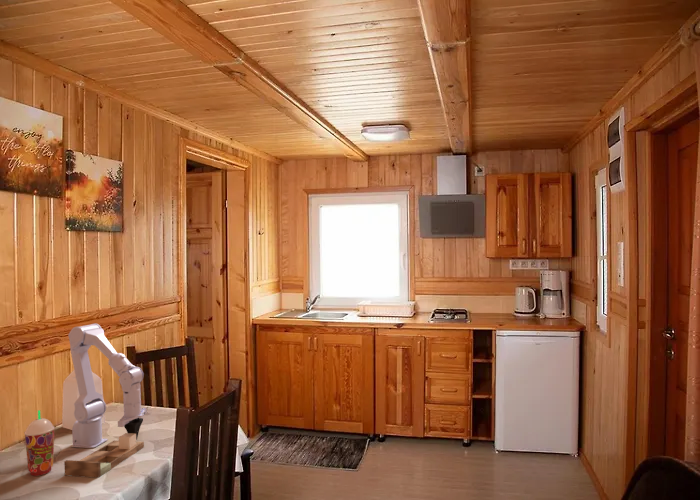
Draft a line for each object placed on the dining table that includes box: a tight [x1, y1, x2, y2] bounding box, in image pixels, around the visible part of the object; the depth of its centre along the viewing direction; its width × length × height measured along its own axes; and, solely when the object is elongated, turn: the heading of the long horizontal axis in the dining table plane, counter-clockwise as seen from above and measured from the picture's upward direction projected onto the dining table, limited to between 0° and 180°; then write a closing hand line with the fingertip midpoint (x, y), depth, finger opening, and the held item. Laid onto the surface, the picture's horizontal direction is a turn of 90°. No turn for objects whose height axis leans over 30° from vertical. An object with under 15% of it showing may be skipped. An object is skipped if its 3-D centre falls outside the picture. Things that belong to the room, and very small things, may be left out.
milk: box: [61, 369, 107, 431], centre depth 209 cm, size 12×12×26 cm
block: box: [118, 432, 137, 449], centre depth 178 cm, size 4×4×4 cm
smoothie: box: [23, 409, 56, 477], centre depth 164 cm, size 8×8×20 cm
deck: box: [63, 440, 145, 478], centre depth 171 cm, size 12×24×4 cm, turn 170°
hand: (133, 440), depth 181 cm, fingers closed
